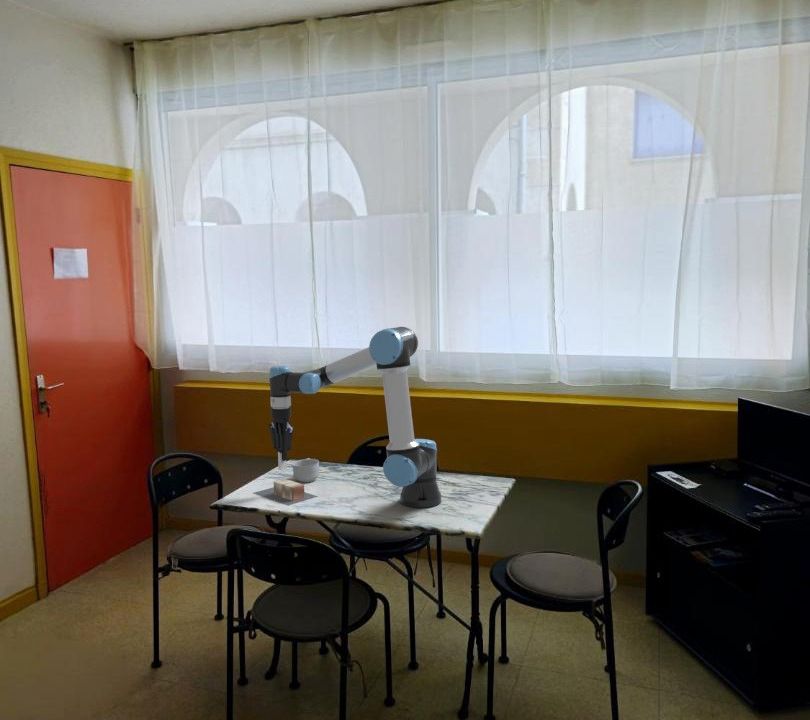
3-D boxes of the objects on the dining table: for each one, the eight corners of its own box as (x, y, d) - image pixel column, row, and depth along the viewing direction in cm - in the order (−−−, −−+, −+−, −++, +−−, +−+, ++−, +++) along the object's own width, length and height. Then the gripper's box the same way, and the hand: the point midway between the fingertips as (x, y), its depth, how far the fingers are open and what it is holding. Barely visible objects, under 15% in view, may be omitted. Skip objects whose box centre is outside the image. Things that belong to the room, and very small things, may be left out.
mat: (318, 497, 255) (318, 496, 255) (288, 506, 245) (288, 505, 245) (282, 485, 270) (282, 484, 270) (252, 494, 260) (252, 493, 260)
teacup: (314, 485, 270) (314, 465, 270) (288, 484, 272) (288, 464, 271) (325, 475, 284) (324, 456, 283) (300, 474, 286) (299, 456, 285)
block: (284, 491, 262) (304, 497, 254) (274, 494, 258) (293, 501, 250) (284, 478, 261) (304, 484, 253) (273, 481, 257) (293, 487, 249)
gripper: (262, 406, 256) (264, 467, 259) (283, 410, 247) (285, 473, 250) (278, 403, 262) (280, 463, 264) (299, 407, 253) (301, 469, 255)
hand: (282, 468), depth 257 cm, fingers closed
